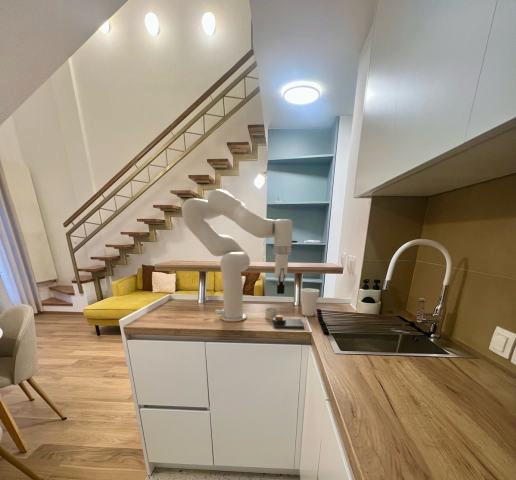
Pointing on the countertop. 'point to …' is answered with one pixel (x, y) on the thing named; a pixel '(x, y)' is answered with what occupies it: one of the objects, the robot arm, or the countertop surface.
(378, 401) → the countertop surface
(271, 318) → the bowl
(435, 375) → the countertop surface
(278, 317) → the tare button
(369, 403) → the countertop surface
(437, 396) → the countertop surface
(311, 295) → the foam cup
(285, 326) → the scale
